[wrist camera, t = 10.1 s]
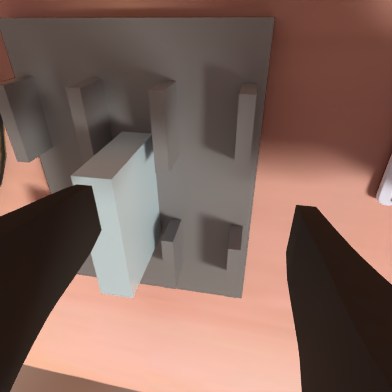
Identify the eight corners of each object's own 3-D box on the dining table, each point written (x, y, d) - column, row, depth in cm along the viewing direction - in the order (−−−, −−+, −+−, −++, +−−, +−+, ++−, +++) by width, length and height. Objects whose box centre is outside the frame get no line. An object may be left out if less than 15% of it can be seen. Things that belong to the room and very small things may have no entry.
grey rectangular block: (152, 133, 18) (111, 179, 13) (161, 234, 22) (132, 298, 17) (122, 131, 18) (70, 175, 13) (136, 231, 23) (101, 293, 18)
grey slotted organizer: (273, 17, 15) (277, 18, 12) (242, 288, 25) (239, 324, 22) (9, 17, 17) (-43, 18, 14) (81, 266, 28) (60, 296, 25)
